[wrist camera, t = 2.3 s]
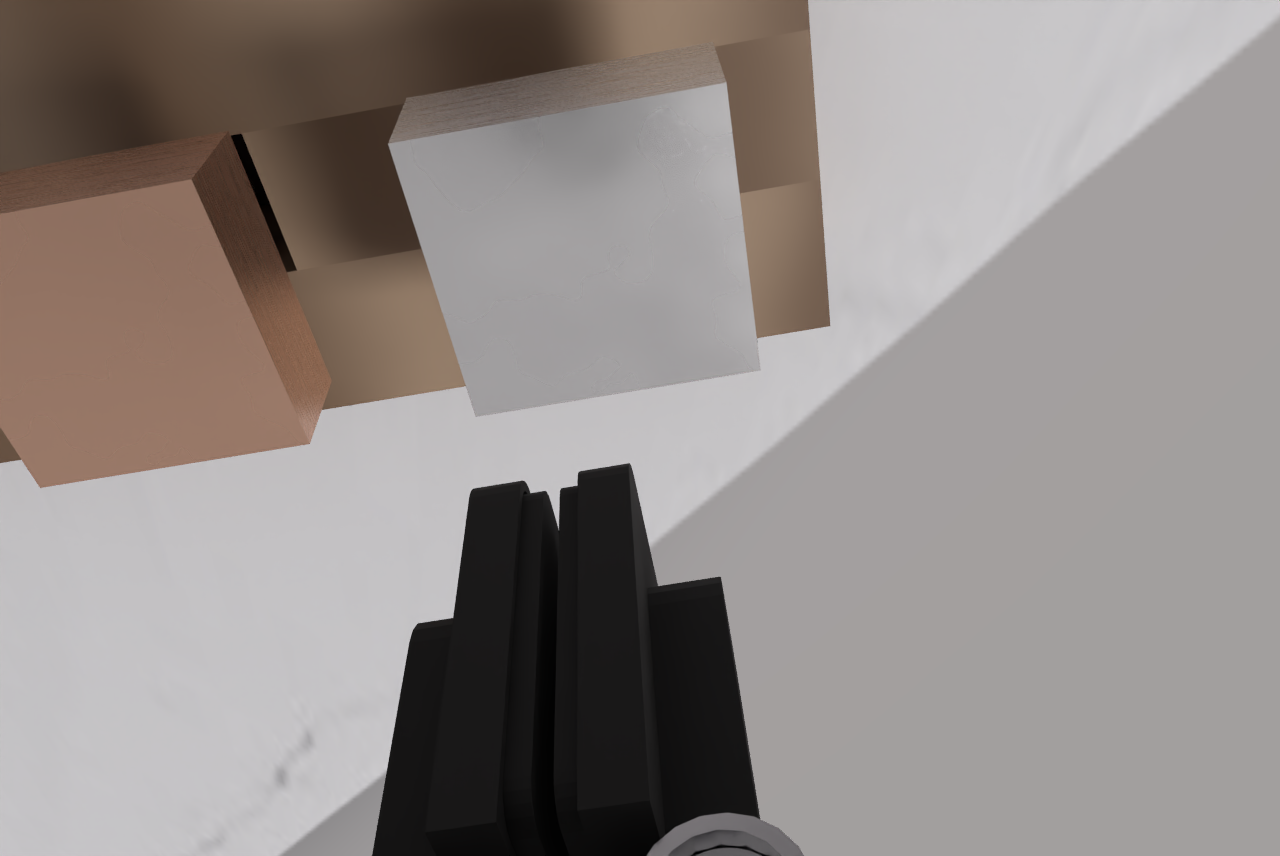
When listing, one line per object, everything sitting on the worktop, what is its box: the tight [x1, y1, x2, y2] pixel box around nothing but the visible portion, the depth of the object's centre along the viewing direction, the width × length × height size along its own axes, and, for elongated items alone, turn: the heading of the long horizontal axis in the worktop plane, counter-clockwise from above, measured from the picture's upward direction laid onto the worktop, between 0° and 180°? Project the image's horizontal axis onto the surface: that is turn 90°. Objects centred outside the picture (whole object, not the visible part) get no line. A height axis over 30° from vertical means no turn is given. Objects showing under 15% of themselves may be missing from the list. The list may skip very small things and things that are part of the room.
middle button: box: [0, 131, 332, 488], centre depth 20 cm, size 5×5×6 cm
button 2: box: [388, 42, 760, 417], centre depth 19 cm, size 5×5×6 cm
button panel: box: [0, 0, 830, 463], centre depth 23 cm, size 25×10×4 cm, turn 100°
